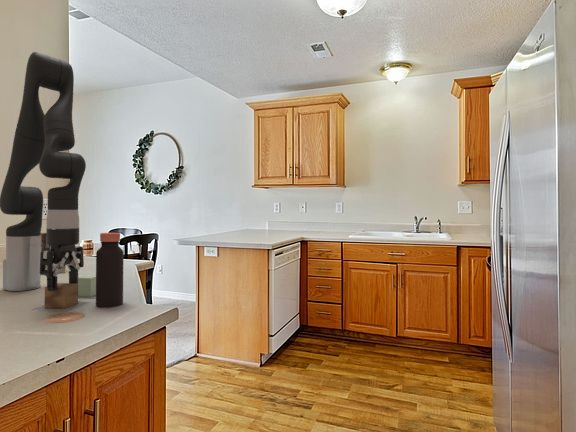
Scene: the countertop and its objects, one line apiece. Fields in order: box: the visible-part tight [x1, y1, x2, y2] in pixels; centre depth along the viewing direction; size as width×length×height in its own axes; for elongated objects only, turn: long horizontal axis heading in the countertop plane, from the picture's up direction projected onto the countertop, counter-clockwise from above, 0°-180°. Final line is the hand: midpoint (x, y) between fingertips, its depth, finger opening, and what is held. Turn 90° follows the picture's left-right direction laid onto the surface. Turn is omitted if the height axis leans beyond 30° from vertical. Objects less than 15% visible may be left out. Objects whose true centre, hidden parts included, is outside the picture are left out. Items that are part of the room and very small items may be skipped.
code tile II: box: [78, 295, 96, 300], centre depth 112 cm, size 10×10×1 cm
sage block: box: [78, 274, 96, 297], centre depth 112 cm, size 6×6×6 cm
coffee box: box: [41, 232, 66, 274], centre depth 152 cm, size 9×6×16 cm
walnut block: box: [44, 282, 79, 309], centre depth 99 cm, size 6×6×6 cm
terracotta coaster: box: [45, 311, 85, 324], centre depth 89 cm, size 8×8×1 cm
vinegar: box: [95, 232, 125, 309], centre depth 102 cm, size 7×7×20 cm
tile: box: [31, 300, 90, 313], centre depth 99 cm, size 10×10×1 cm
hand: (63, 287), depth 99 cm, fingers open, 8 cm apart
